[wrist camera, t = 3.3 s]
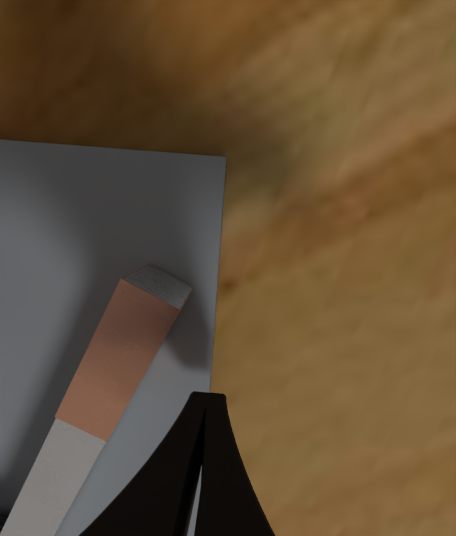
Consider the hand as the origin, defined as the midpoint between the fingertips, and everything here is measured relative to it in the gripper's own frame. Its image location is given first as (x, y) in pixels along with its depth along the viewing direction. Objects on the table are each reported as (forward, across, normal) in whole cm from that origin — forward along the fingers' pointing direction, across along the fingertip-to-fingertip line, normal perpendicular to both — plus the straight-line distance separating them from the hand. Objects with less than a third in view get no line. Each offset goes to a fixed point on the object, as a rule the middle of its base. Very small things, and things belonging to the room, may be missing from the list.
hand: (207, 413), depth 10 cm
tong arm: (+2, +7, +4) cm, 8 cm away
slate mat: (+2, +8, +2) cm, 8 cm away
